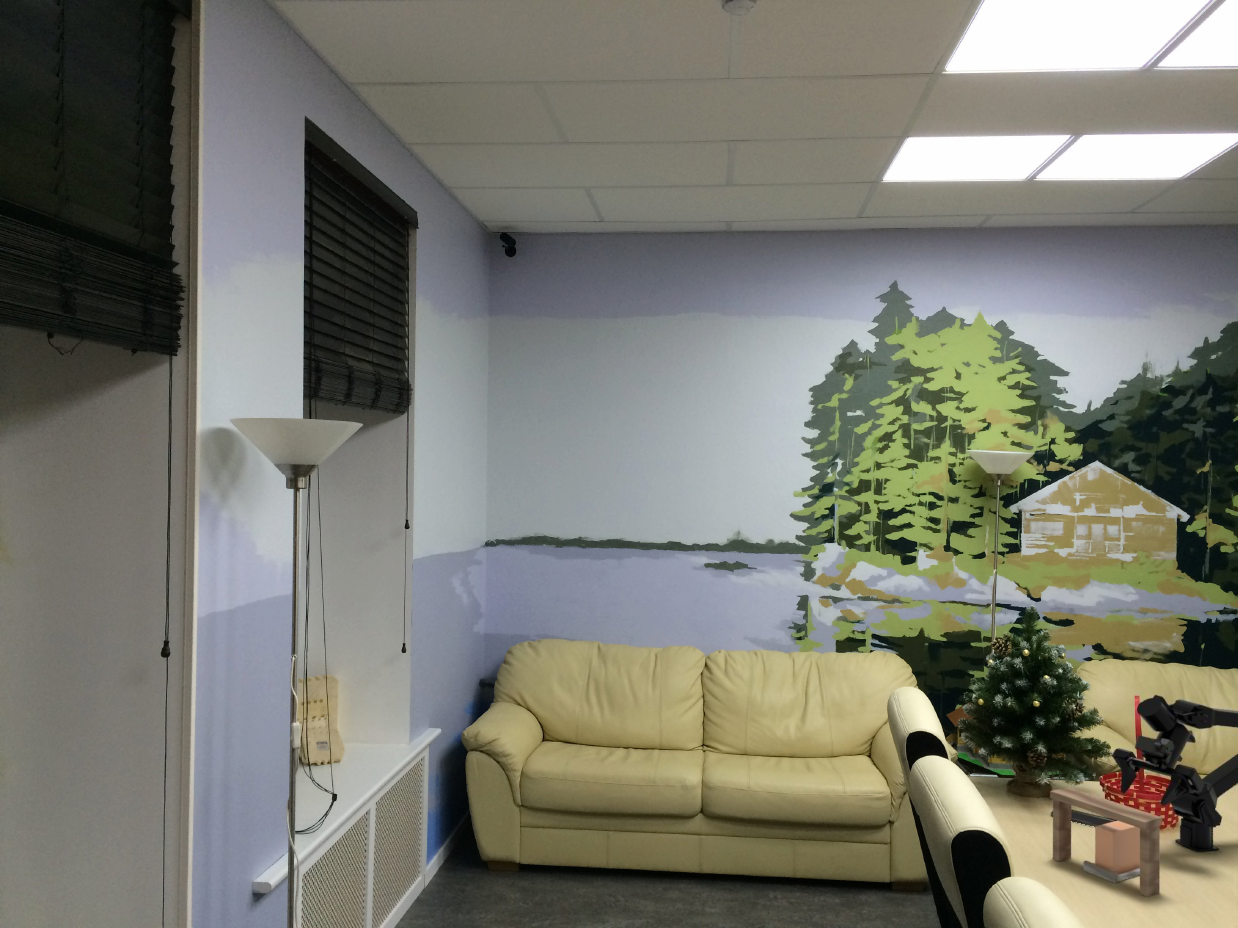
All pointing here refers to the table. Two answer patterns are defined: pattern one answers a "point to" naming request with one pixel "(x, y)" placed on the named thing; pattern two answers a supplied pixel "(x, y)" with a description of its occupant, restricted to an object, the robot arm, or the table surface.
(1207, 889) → the table surface
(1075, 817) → the phone
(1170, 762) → the robot arm
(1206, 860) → the table surface
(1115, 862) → the terracotta panel
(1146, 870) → the walnut bridge
